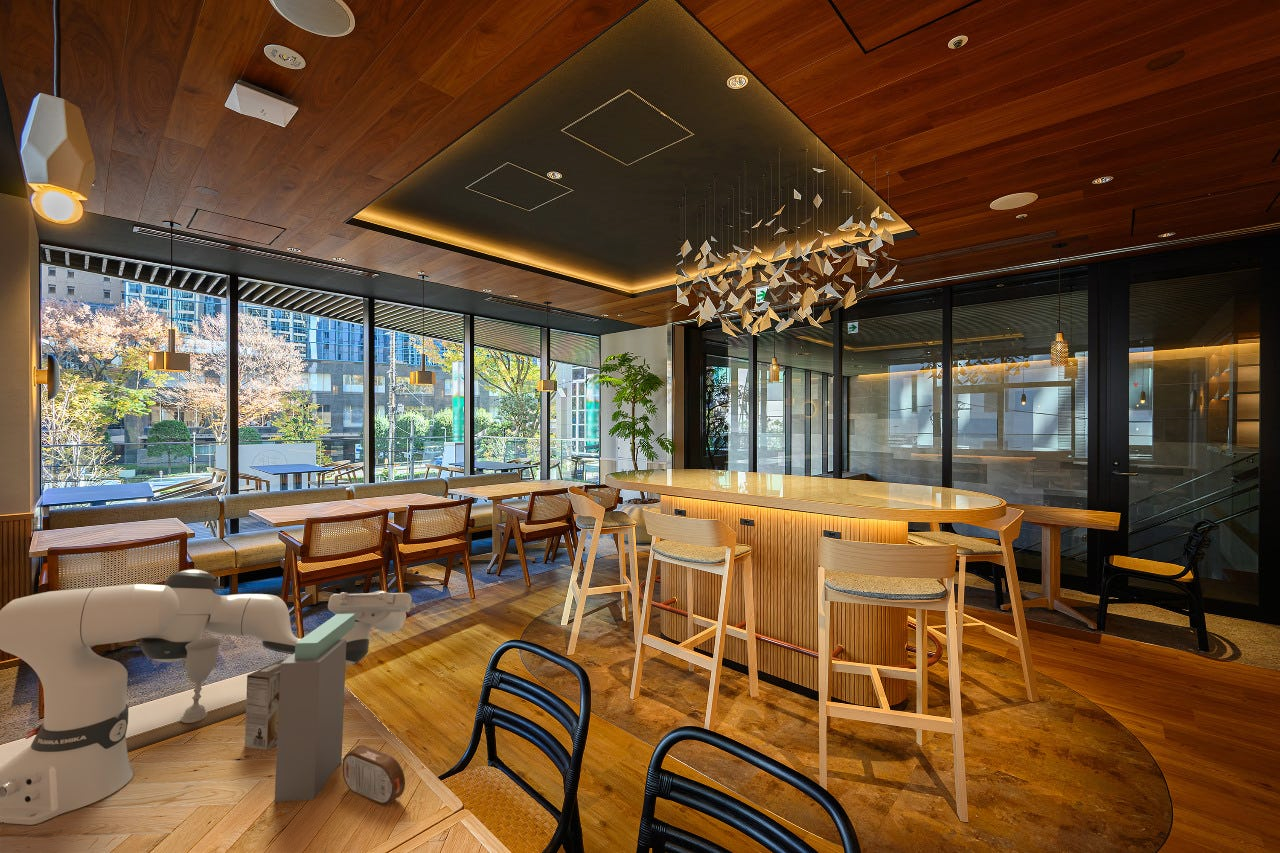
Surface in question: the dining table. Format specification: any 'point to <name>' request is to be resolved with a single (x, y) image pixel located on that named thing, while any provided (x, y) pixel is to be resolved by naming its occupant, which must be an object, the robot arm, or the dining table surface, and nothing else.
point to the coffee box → (262, 707)
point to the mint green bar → (324, 636)
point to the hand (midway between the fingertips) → (362, 595)
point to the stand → (309, 723)
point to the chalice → (199, 672)
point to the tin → (373, 775)
